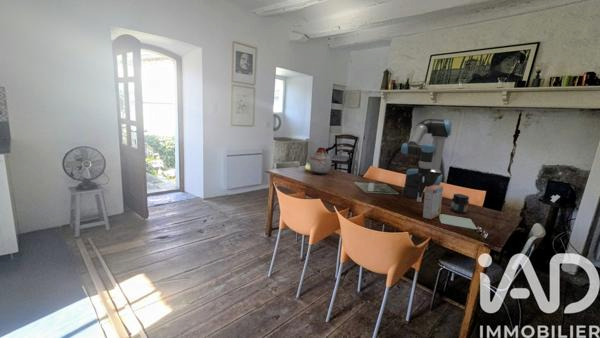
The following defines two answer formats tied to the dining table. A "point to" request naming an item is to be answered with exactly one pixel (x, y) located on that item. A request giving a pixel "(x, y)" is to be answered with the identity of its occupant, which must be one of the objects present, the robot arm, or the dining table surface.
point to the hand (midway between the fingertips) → (418, 201)
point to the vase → (320, 162)
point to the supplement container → (459, 203)
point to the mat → (457, 221)
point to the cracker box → (432, 201)
